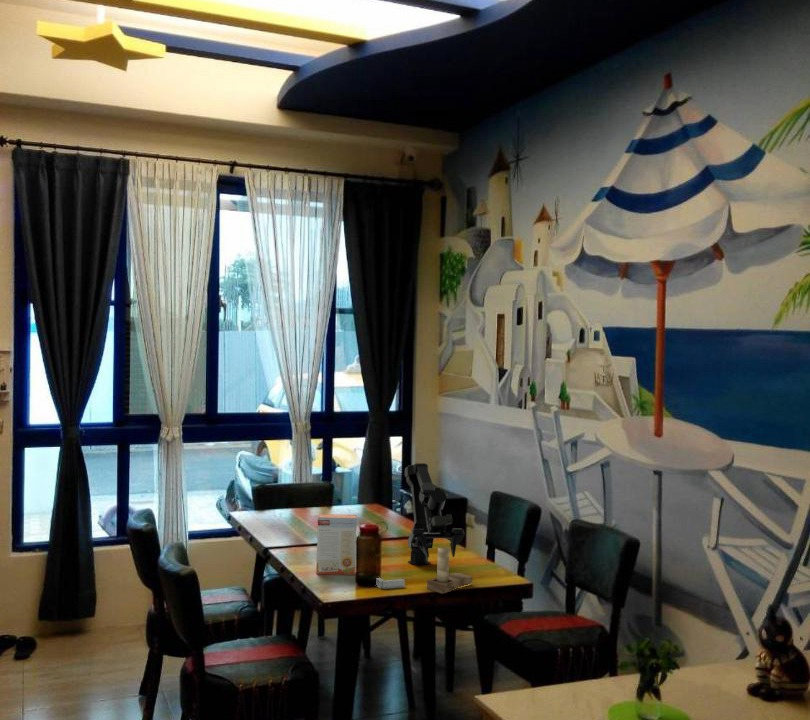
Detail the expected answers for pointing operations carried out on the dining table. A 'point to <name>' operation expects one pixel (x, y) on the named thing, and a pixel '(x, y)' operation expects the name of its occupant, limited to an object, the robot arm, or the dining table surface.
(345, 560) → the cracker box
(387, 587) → the v cradle
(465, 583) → the wooden socket block
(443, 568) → the dowel
